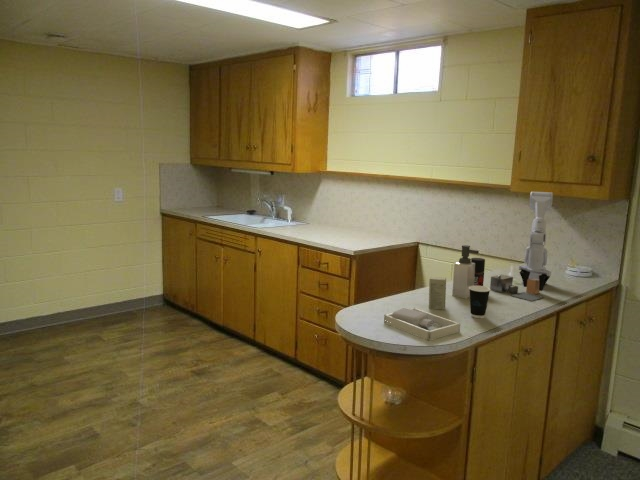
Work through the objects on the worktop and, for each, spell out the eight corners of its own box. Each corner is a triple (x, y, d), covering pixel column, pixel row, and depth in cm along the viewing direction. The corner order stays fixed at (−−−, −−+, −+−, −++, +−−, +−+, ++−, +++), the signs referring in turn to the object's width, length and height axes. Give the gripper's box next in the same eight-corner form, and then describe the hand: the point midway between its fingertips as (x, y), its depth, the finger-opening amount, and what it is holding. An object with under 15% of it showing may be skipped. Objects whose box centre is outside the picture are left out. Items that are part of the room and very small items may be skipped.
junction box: (500, 286, 244) (501, 272, 243) (513, 289, 238) (514, 275, 237) (488, 289, 239) (489, 275, 238) (501, 292, 233) (502, 278, 232)
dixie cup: (471, 319, 195) (473, 291, 193) (463, 313, 202) (465, 285, 201) (491, 319, 195) (494, 290, 193) (483, 312, 203) (485, 285, 201)
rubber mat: (523, 292, 234) (523, 291, 234) (544, 298, 226) (544, 297, 226) (510, 296, 228) (510, 295, 228) (531, 301, 220) (531, 300, 220)
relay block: (531, 291, 237) (532, 277, 236) (539, 293, 234) (540, 279, 233) (526, 292, 235) (527, 279, 234) (534, 294, 232) (535, 280, 231)
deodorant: (481, 290, 237) (483, 257, 234) (483, 293, 231) (486, 260, 228) (467, 289, 237) (470, 257, 235) (470, 293, 231) (472, 260, 229)
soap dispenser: (470, 299, 221) (474, 248, 218) (452, 295, 227) (455, 245, 224) (478, 296, 226) (481, 246, 222) (459, 292, 232) (462, 244, 228)
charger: (429, 335, 178) (391, 325, 187) (441, 328, 185) (404, 319, 194) (430, 321, 177) (392, 312, 186) (442, 315, 184) (405, 307, 193)
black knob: (511, 291, 236) (512, 284, 236) (519, 293, 233) (520, 286, 233) (506, 292, 234) (506, 285, 234) (514, 294, 231) (514, 287, 230)
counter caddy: (414, 315, 198) (414, 307, 198) (459, 331, 181) (460, 323, 180) (383, 322, 189) (384, 314, 188) (429, 340, 172) (429, 332, 171)
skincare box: (445, 307, 210) (447, 277, 208) (444, 310, 206) (446, 280, 204) (429, 305, 212) (430, 276, 210) (427, 308, 208) (429, 278, 206)
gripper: (516, 257, 235) (513, 286, 238) (546, 262, 224) (543, 293, 226) (525, 255, 239) (522, 284, 242) (555, 261, 228) (552, 291, 230)
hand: (533, 288), depth 234 cm, fingers open, 7 cm apart
